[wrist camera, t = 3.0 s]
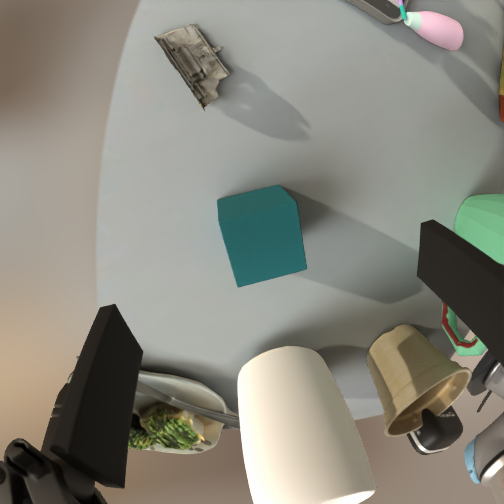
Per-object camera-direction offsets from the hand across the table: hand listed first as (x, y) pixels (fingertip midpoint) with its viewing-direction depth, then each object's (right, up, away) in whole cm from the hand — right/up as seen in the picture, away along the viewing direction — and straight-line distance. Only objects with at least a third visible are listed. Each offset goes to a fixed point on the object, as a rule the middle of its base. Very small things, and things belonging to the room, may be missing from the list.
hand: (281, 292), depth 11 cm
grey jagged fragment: (-5, +11, +2) cm, 13 cm away
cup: (+1, -9, +14) cm, 16 cm away
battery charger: (+18, -14, +19) cm, 30 cm away
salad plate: (-13, -15, +15) cm, 25 cm away
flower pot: (+13, -8, +15) cm, 22 cm away
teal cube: (-1, +4, +8) cm, 8 cm away
